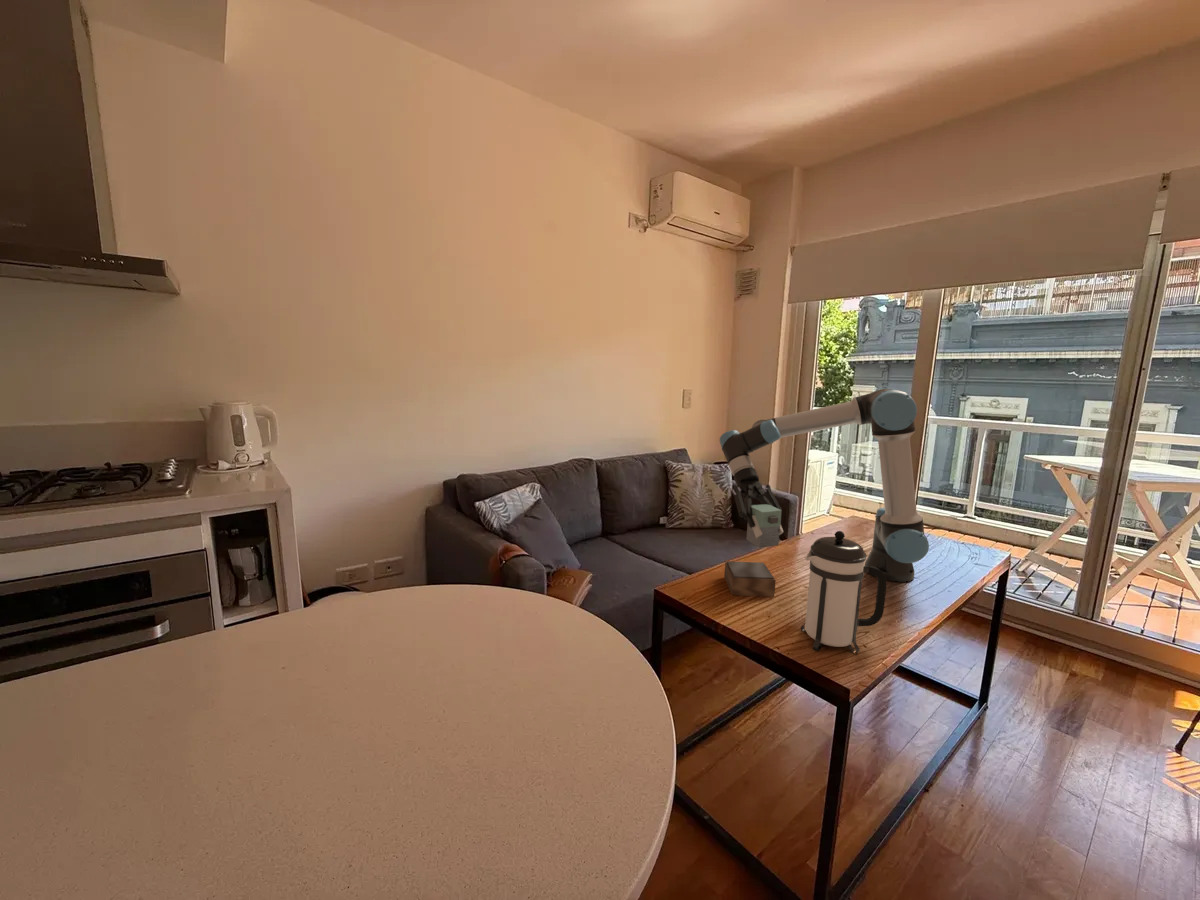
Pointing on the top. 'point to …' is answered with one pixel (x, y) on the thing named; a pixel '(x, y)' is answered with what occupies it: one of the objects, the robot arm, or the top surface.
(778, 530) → the base
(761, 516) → the lid
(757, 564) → the walnut stand
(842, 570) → the coffee press
